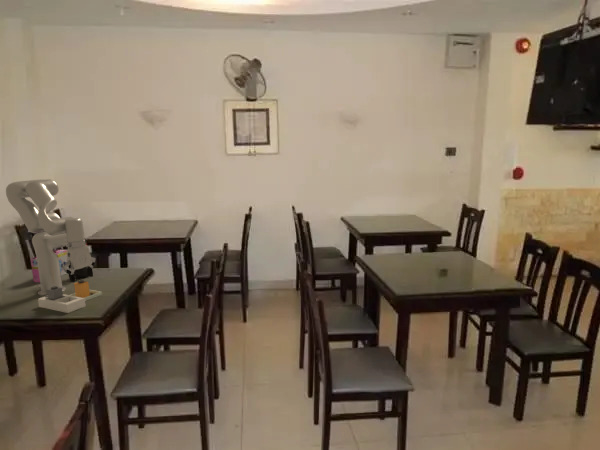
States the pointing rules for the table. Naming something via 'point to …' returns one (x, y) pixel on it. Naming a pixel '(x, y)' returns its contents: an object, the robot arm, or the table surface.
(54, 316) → the table surface
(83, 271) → the cola bottle
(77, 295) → the orange plug
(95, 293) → the tray
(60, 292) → the twin plug
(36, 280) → the gum box
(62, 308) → the white compartment box
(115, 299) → the table surface
